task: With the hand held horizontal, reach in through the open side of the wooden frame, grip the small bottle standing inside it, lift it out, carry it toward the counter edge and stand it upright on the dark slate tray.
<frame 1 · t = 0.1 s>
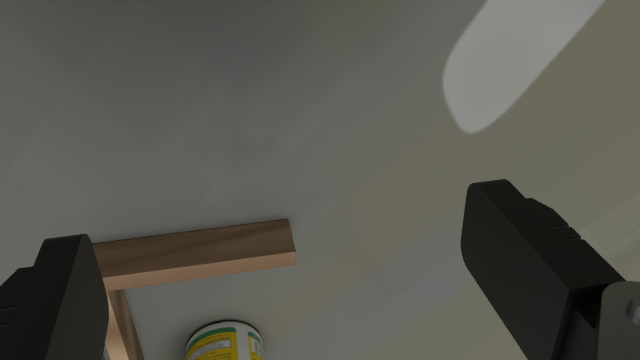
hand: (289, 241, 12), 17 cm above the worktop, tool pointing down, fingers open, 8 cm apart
wooden frame: (213, 346, 38), on the worktop
supplement bottle: (224, 342, 39), on the worktop
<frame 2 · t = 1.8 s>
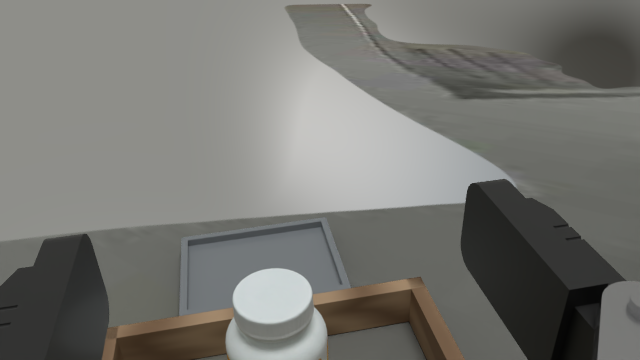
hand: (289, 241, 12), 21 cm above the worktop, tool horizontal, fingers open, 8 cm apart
tray: (262, 277, 43), on the worktop
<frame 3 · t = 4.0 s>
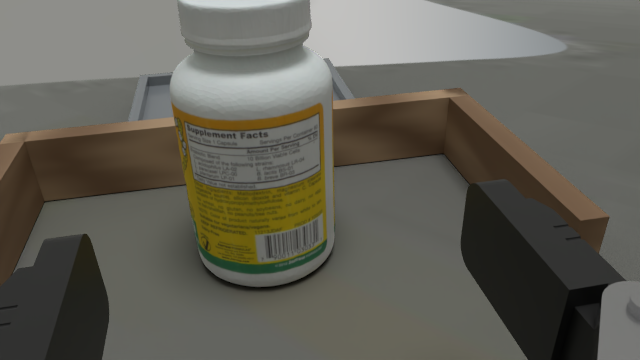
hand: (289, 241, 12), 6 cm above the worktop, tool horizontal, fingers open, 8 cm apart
wooden frame: (265, 233, 22), on the worktop
tray: (244, 117, 32), on the worktop
supplement bottle: (268, 249, 22), on the worktop
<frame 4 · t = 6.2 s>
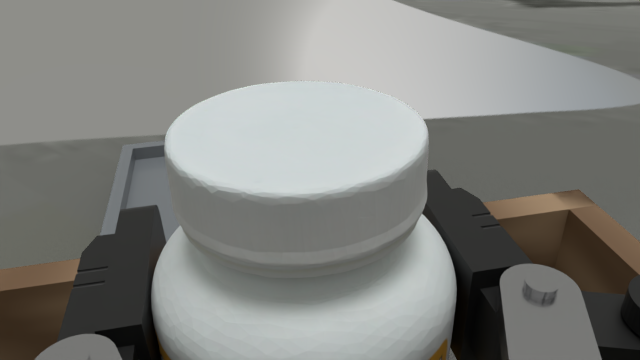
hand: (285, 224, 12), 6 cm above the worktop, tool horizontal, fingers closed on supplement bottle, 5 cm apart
tray: (262, 208, 24), on the worktop
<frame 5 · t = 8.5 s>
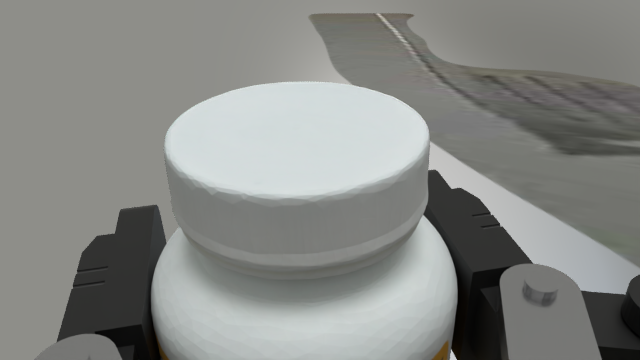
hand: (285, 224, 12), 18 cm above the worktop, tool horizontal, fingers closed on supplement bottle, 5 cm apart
when the fingers open (8 cm above the worktop, at t = 11.1 s): supplement bottle drops 1 cm, resting on tray.
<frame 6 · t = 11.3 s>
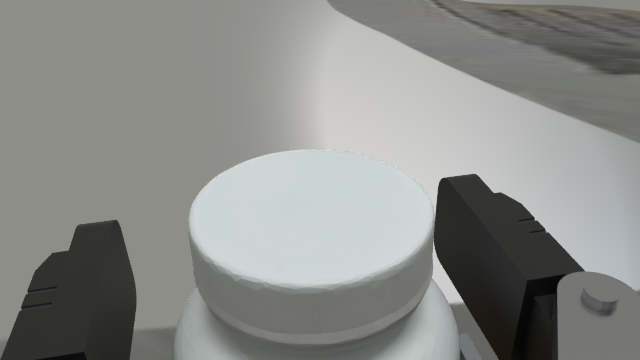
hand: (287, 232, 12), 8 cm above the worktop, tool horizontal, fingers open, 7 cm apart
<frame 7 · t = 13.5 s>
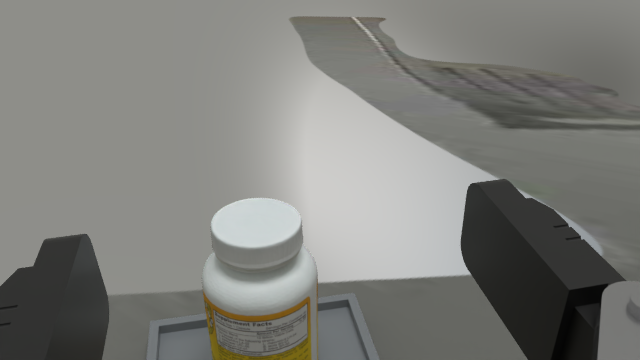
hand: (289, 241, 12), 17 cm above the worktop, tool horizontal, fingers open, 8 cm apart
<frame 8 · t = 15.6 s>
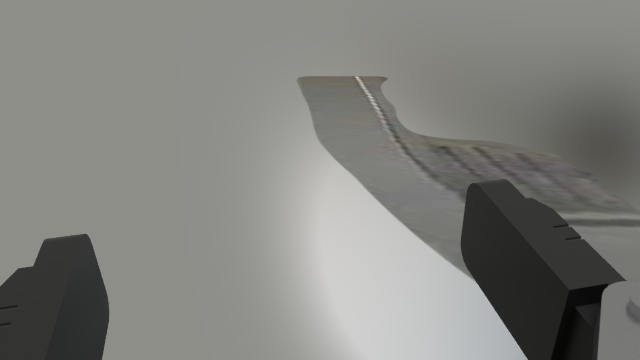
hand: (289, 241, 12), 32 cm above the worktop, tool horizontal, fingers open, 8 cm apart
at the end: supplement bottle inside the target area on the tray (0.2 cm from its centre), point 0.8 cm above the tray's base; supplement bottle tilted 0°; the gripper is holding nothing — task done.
